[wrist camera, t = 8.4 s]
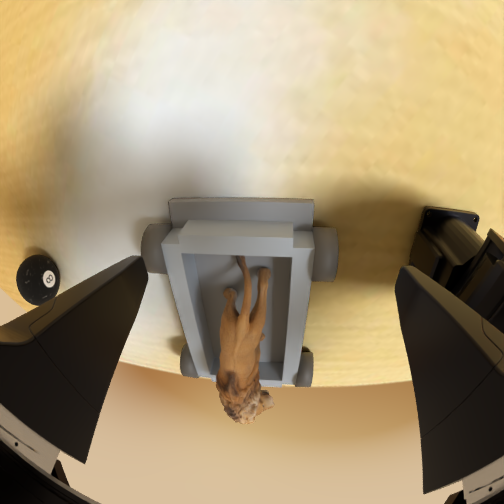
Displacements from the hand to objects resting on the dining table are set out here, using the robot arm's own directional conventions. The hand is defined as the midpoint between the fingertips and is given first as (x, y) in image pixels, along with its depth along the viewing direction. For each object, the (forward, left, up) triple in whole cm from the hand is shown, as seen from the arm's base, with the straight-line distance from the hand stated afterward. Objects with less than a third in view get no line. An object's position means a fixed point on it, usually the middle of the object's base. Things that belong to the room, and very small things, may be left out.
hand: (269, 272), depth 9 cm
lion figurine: (+2, +14, -11) cm, 18 cm away
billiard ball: (+28, +10, -12) cm, 32 cm away
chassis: (+3, +13, -12) cm, 18 cm away
